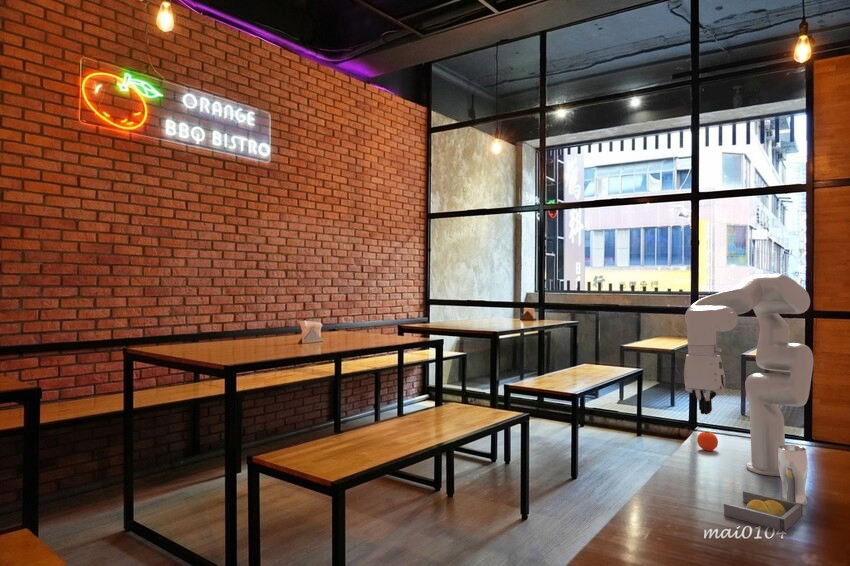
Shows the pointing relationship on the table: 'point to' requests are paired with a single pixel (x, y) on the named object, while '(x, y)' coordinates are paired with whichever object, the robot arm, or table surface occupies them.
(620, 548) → the table surface
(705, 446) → the clementine
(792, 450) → the beer glass
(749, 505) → the bread roll
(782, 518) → the frame
